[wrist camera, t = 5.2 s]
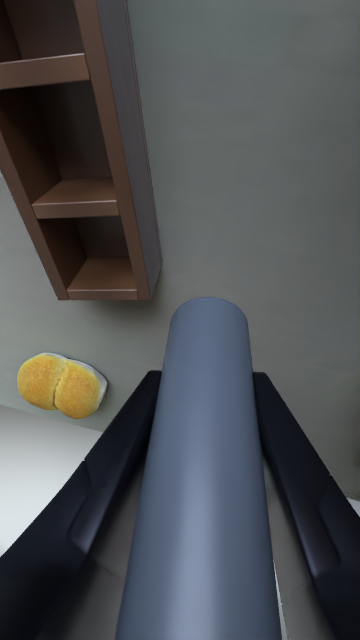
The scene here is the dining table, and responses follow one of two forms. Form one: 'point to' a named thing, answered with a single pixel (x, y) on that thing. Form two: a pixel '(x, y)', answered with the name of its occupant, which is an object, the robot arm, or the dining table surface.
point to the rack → (78, 146)
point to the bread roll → (61, 385)
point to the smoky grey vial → (203, 493)
